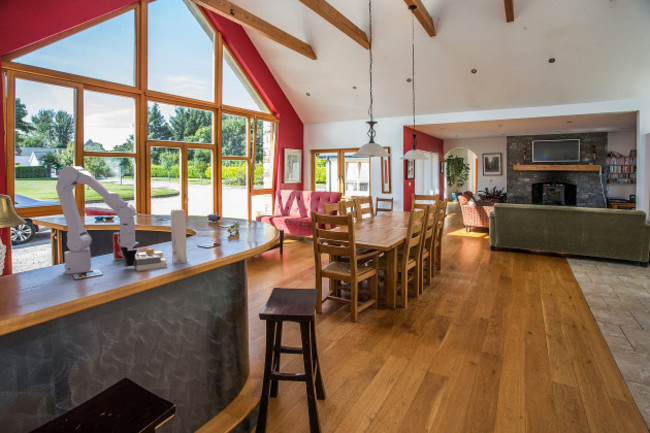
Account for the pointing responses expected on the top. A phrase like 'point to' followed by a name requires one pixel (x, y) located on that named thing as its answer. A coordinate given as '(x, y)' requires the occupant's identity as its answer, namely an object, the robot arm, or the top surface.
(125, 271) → the top surface
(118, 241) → the soda can
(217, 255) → the top surface
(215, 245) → the top surface
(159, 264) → the cradle
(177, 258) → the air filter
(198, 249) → the top surface
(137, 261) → the cartridge
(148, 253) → the plunger
